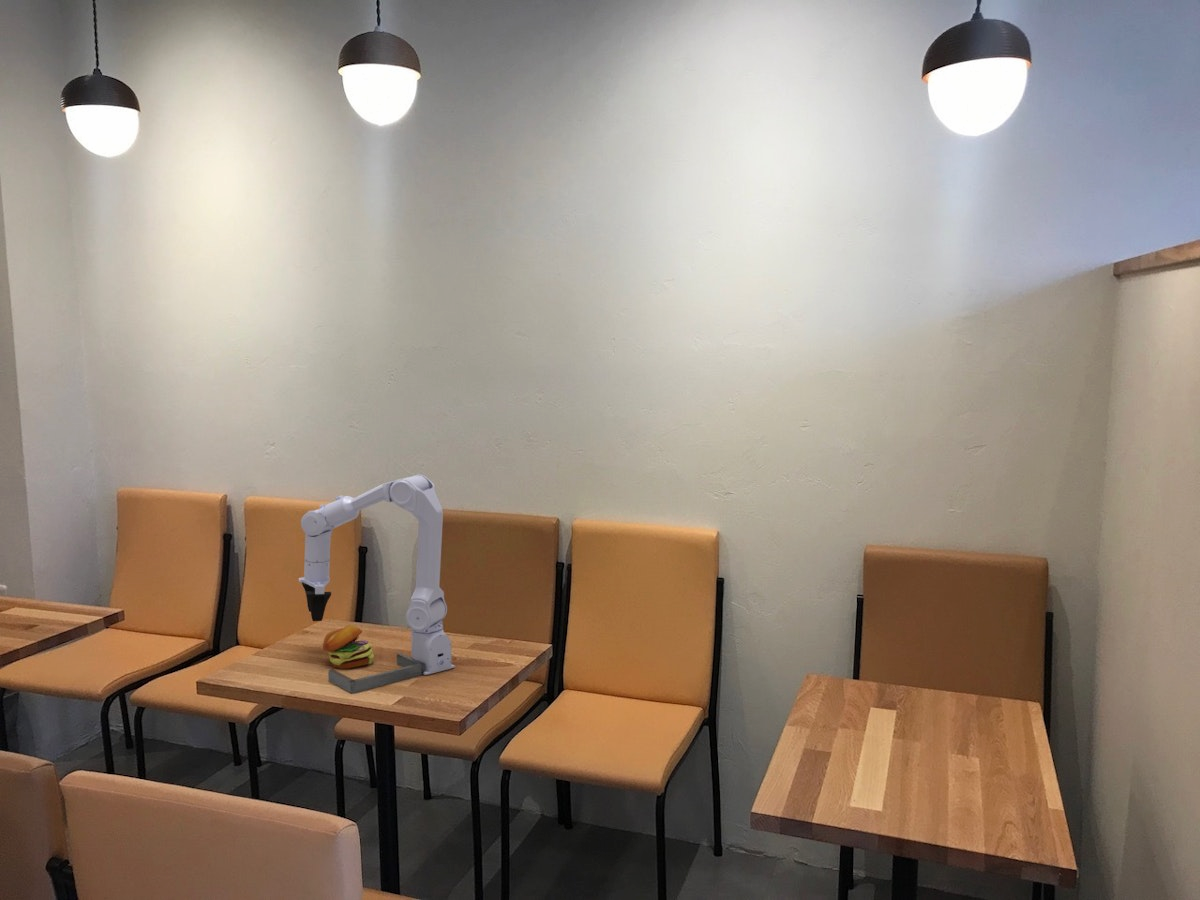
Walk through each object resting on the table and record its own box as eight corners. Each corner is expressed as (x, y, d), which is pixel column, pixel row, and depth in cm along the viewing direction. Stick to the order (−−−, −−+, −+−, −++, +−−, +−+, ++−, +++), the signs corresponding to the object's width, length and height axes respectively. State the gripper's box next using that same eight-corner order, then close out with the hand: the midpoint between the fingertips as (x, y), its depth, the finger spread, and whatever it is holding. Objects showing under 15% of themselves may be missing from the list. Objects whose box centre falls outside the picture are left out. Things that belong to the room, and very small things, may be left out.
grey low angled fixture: (425, 674, 210) (424, 663, 209) (351, 693, 198) (351, 682, 197) (400, 663, 217) (400, 652, 217) (328, 681, 205) (328, 669, 205)
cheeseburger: (369, 670, 212) (357, 628, 211) (324, 681, 213) (312, 639, 212) (380, 655, 222) (369, 615, 221) (337, 665, 223) (326, 626, 222)
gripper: (296, 553, 225) (294, 608, 226) (302, 567, 212) (300, 626, 213) (326, 552, 228) (324, 606, 229) (334, 566, 215) (332, 624, 216)
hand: (315, 615), depth 221 cm, fingers open, 7 cm apart
